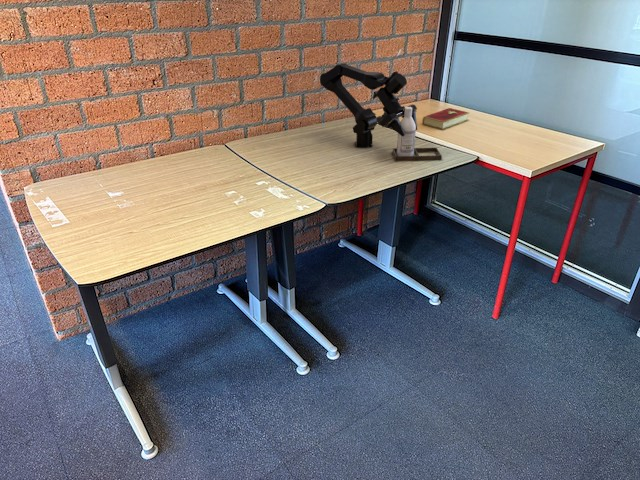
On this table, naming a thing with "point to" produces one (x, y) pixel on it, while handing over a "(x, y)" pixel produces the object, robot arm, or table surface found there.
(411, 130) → the bath foam
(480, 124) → the table surface
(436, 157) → the tray
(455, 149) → the table surface
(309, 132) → the table surface
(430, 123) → the hardcover book
